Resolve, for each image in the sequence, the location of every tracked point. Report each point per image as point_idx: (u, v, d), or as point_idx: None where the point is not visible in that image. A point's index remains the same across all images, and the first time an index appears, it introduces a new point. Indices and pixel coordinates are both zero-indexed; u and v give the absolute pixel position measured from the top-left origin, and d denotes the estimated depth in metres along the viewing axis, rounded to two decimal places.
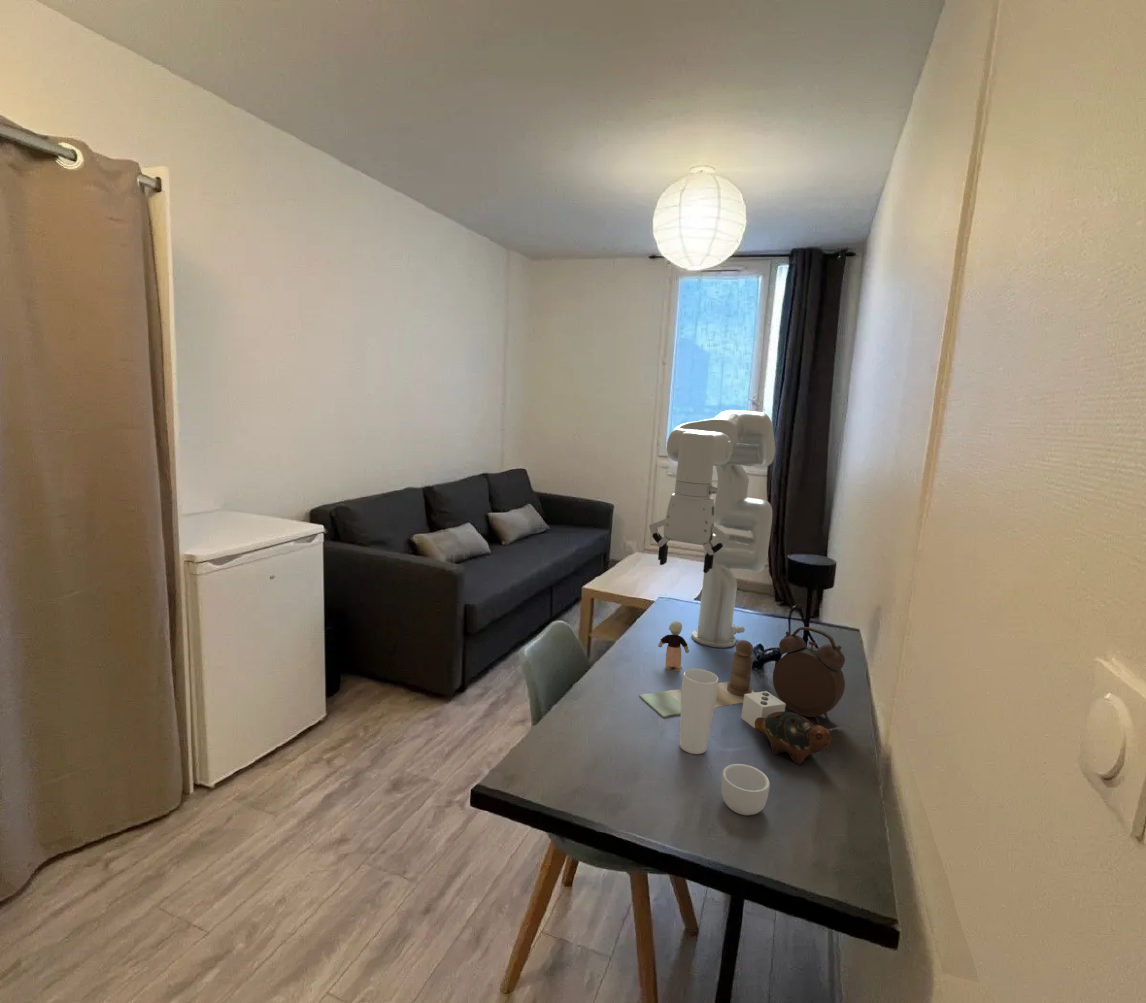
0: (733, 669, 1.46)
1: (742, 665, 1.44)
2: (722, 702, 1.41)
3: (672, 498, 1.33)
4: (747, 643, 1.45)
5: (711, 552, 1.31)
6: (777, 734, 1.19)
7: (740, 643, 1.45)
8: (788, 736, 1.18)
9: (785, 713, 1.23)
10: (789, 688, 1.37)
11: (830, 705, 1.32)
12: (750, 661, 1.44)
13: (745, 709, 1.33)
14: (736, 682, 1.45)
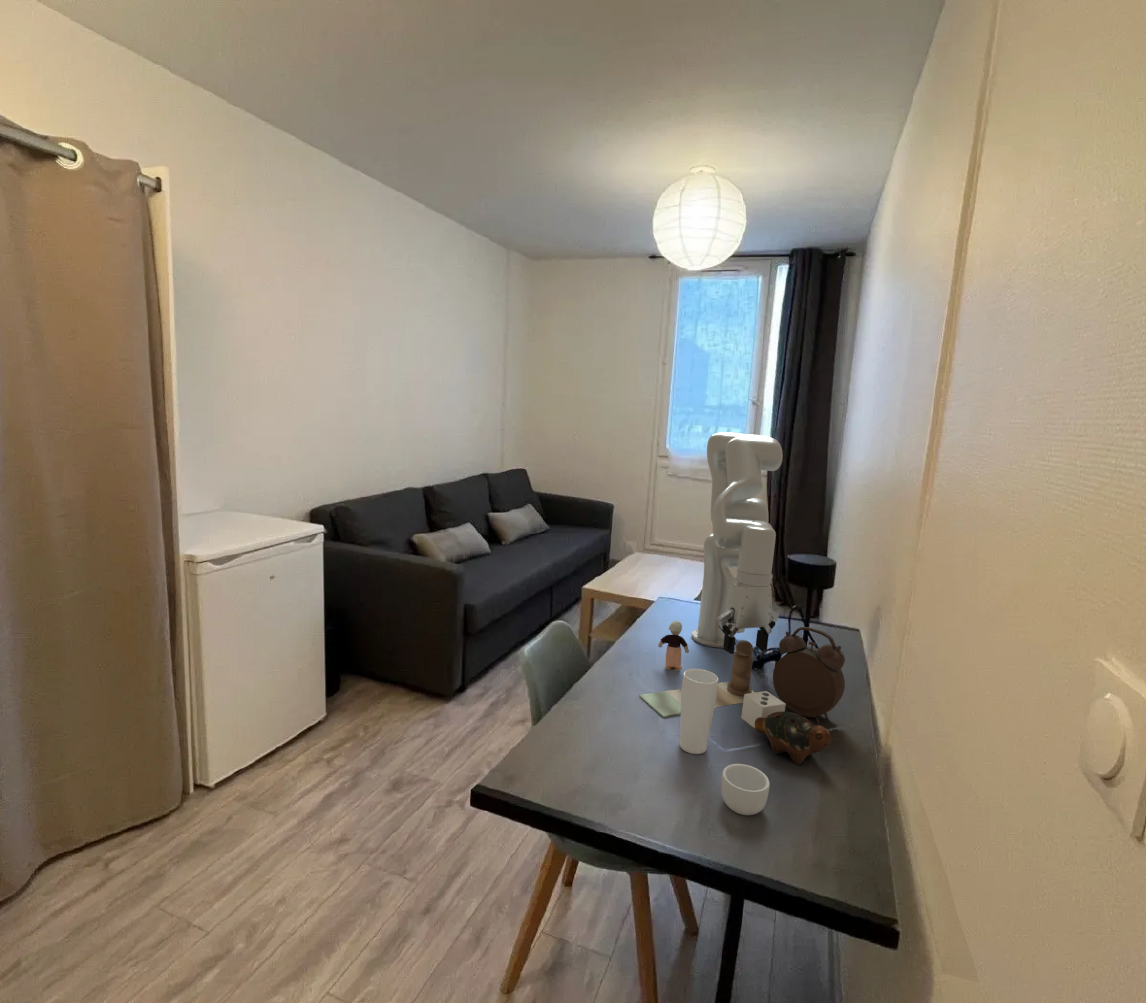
0: (733, 669, 1.46)
1: (742, 665, 1.44)
2: (722, 702, 1.41)
3: (745, 590, 1.40)
4: (747, 643, 1.45)
5: (769, 631, 1.46)
6: (777, 734, 1.19)
7: (740, 643, 1.45)
8: (788, 736, 1.18)
9: (785, 713, 1.23)
10: (789, 688, 1.37)
11: (830, 705, 1.32)
12: (750, 661, 1.44)
13: (745, 709, 1.33)
14: (736, 682, 1.45)
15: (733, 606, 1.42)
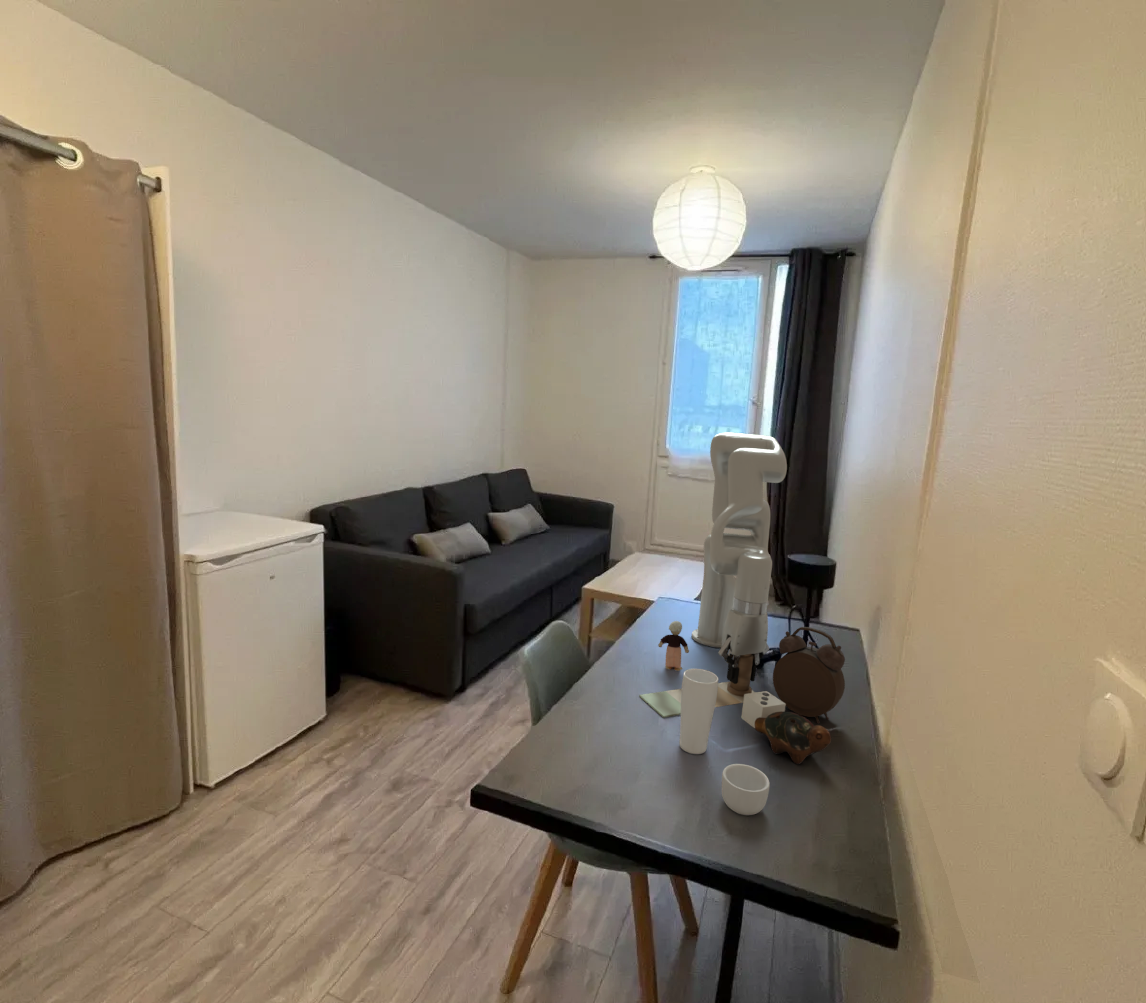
0: None
1: (742, 665, 1.44)
2: (722, 702, 1.41)
3: (741, 618, 1.41)
4: None
5: (757, 662, 1.47)
6: (777, 734, 1.19)
7: None
8: (788, 736, 1.18)
9: (785, 713, 1.23)
10: (789, 688, 1.37)
11: (830, 705, 1.32)
12: (750, 661, 1.44)
13: (745, 709, 1.33)
14: None
15: (729, 633, 1.43)
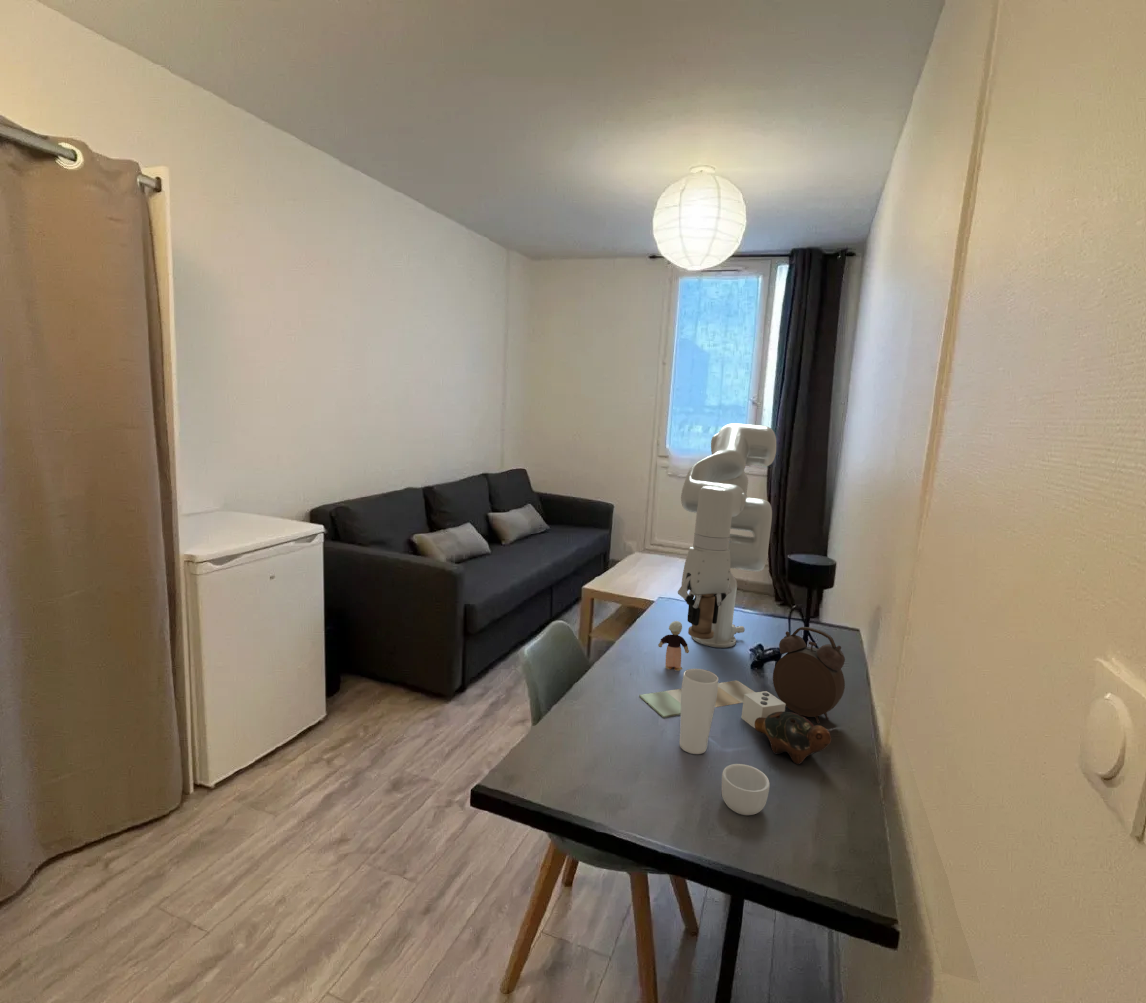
0: None
1: (703, 606, 1.36)
2: (722, 702, 1.41)
3: (702, 554, 1.33)
4: None
5: (719, 603, 1.39)
6: (777, 734, 1.19)
7: None
8: (788, 736, 1.18)
9: (785, 713, 1.23)
10: (789, 688, 1.37)
11: (830, 705, 1.32)
12: (712, 601, 1.36)
13: (745, 709, 1.33)
14: None
15: (689, 571, 1.35)
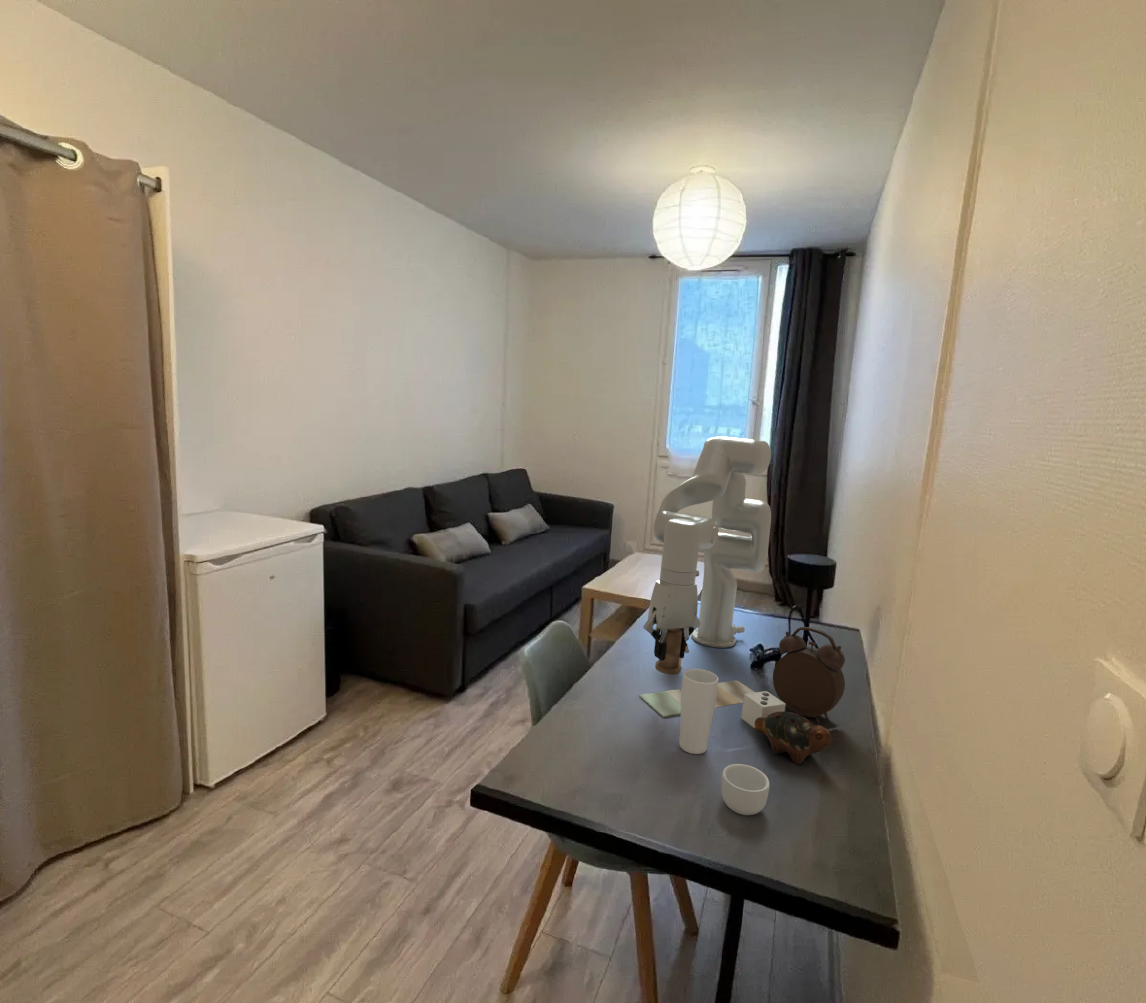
0: None
1: (669, 641, 1.34)
2: (722, 702, 1.41)
3: (667, 589, 1.31)
4: None
5: (687, 638, 1.36)
6: (777, 734, 1.19)
7: None
8: (788, 736, 1.18)
9: (785, 713, 1.23)
10: (789, 688, 1.37)
11: (830, 705, 1.32)
12: (678, 636, 1.34)
13: (745, 709, 1.33)
14: None
15: (655, 606, 1.33)
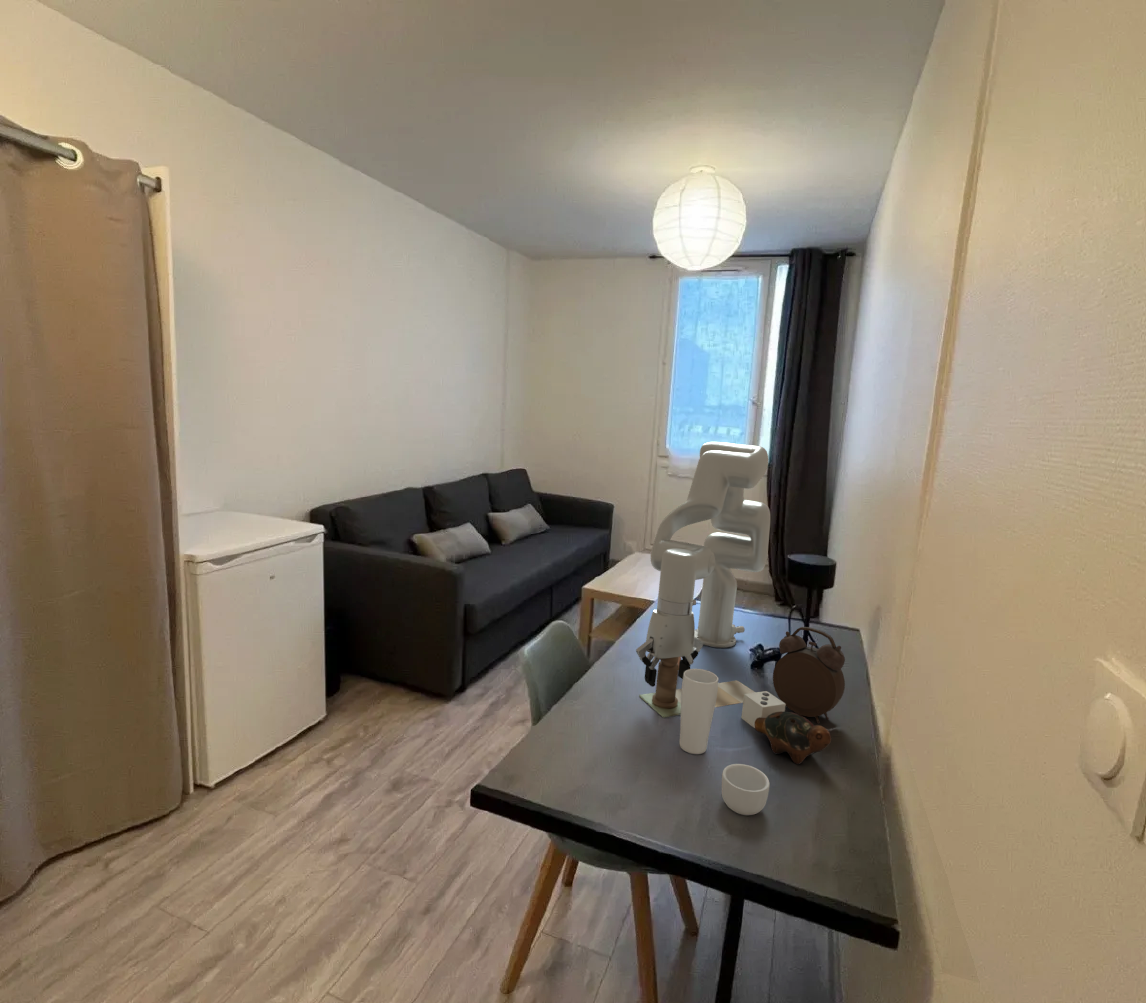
0: (657, 679, 1.37)
1: (666, 676, 1.35)
2: (722, 702, 1.41)
3: (664, 619, 1.32)
4: None
5: (691, 661, 1.38)
6: (777, 734, 1.19)
7: None
8: (788, 736, 1.18)
9: (785, 713, 1.23)
10: (789, 688, 1.37)
11: (830, 705, 1.32)
12: (675, 671, 1.35)
13: (745, 709, 1.33)
14: (661, 693, 1.36)
15: (652, 635, 1.34)
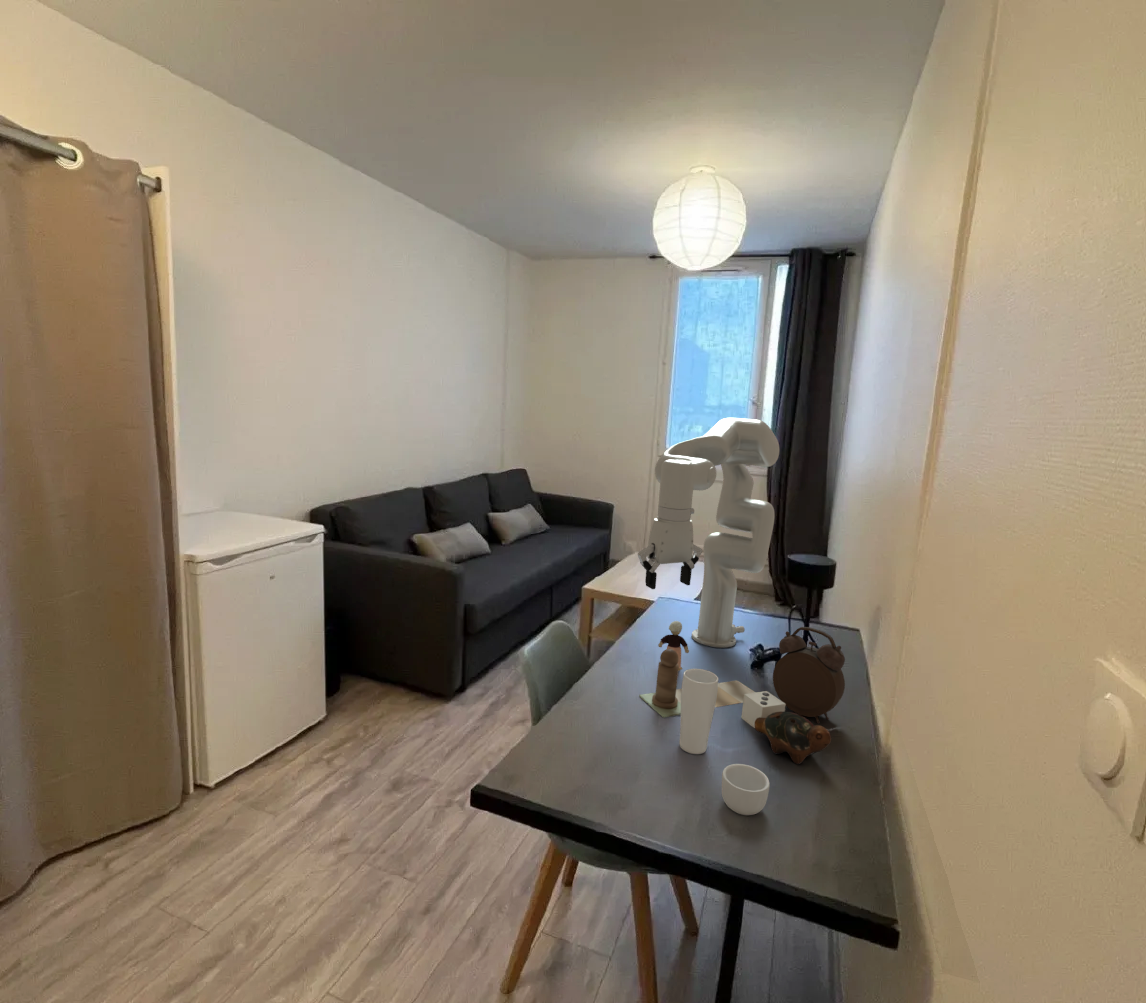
0: (657, 680, 1.37)
1: (666, 676, 1.35)
2: (722, 702, 1.41)
3: (665, 525, 1.39)
4: (671, 652, 1.36)
5: (692, 566, 1.46)
6: (777, 734, 1.19)
7: (664, 652, 1.36)
8: (788, 736, 1.18)
9: (785, 713, 1.23)
10: (789, 688, 1.37)
11: (830, 705, 1.32)
12: (675, 671, 1.35)
13: (745, 709, 1.33)
14: (661, 693, 1.36)
15: (653, 541, 1.41)
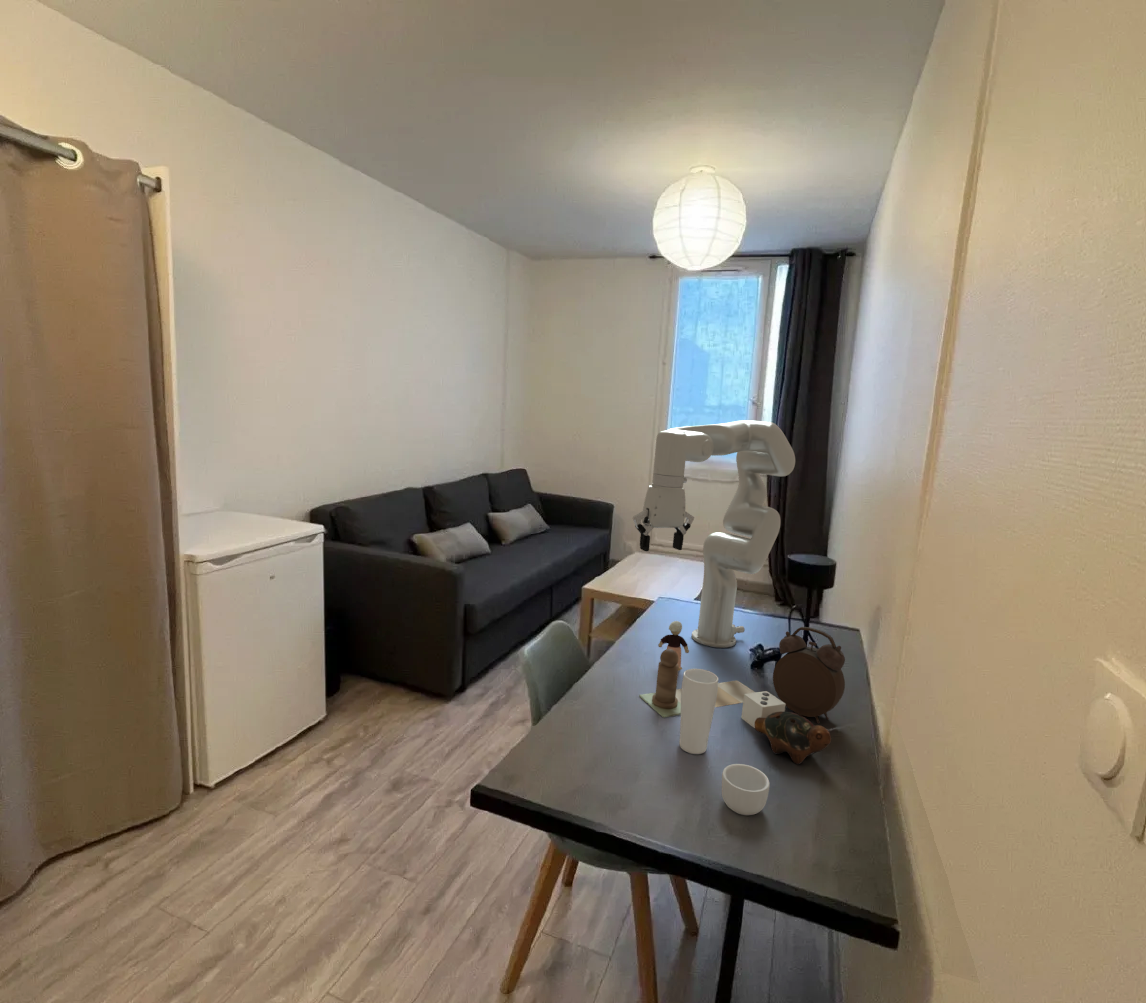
0: (657, 680, 1.37)
1: (666, 676, 1.35)
2: (722, 702, 1.41)
3: (658, 491, 1.50)
4: (671, 652, 1.36)
5: (684, 532, 1.56)
6: (777, 734, 1.19)
7: (664, 652, 1.36)
8: (788, 736, 1.18)
9: (785, 713, 1.23)
10: (789, 688, 1.37)
11: (830, 705, 1.32)
12: (675, 671, 1.35)
13: (745, 709, 1.33)
14: (661, 693, 1.36)
15: (648, 506, 1.51)
